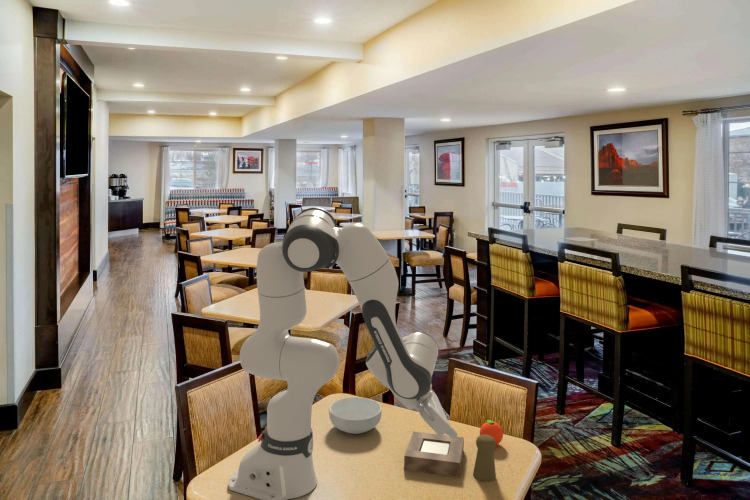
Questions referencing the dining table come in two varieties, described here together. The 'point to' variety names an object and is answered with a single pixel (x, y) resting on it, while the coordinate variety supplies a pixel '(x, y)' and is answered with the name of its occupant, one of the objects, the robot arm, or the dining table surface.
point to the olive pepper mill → (485, 459)
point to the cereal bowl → (355, 414)
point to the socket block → (434, 455)
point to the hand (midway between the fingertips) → (451, 427)
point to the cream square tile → (435, 447)
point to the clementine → (492, 430)
